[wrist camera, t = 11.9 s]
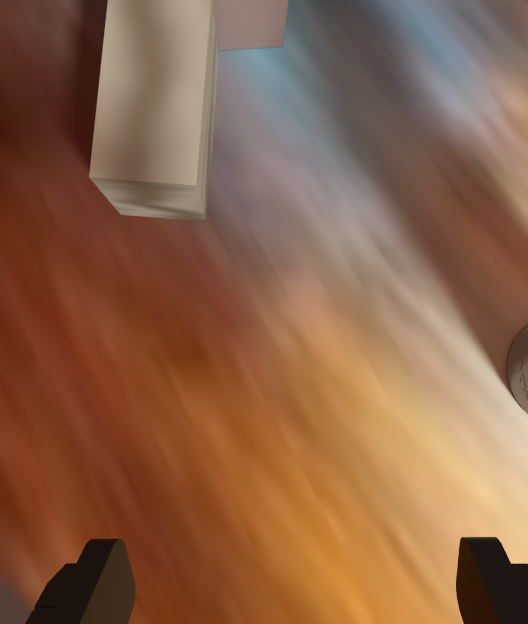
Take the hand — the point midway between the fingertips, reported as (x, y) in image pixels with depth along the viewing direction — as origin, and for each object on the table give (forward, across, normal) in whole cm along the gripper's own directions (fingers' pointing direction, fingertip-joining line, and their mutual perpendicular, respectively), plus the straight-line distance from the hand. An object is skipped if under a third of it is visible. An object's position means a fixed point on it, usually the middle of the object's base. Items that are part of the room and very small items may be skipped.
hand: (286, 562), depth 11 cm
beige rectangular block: (+33, +10, -9) cm, 36 cm away
